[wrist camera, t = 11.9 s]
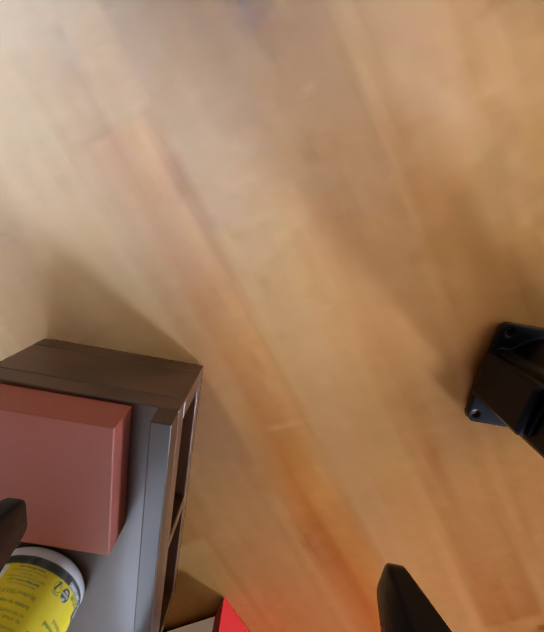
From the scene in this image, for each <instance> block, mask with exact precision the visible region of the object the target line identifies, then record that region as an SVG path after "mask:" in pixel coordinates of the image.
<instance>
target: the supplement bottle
mask: <svg viewBox="0 0 544 632" xmlns="http://www.w3.org/2000/svg"><path fill="white" fill-rule="evenodd" d="M84 591H85V584H84V579H83V576H82V574H81V572H80V570H79V569H78V567H77V566H76V565H75V564H74V563H73V562H72V561H71V560H70V559H69V558H67V557H66V556H64V555H62V554H61V553H58V552H56V551H53V550H50V549H47V548H42V547H21V548H17V549H15V550H14V552H13V553H12V555H11V556H10V558H9V560H8V561H7V563H6V564H5V566H4V568H3V569H2V571H1V572H0V632H66V631H67V629H68V627H69V625H70V623H71V622H72V620H73V618H74V615H75V613H76V611H77V609H78V607H79V605H80V603H81V601H82V599H83V595H84Z"/></svg>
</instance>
